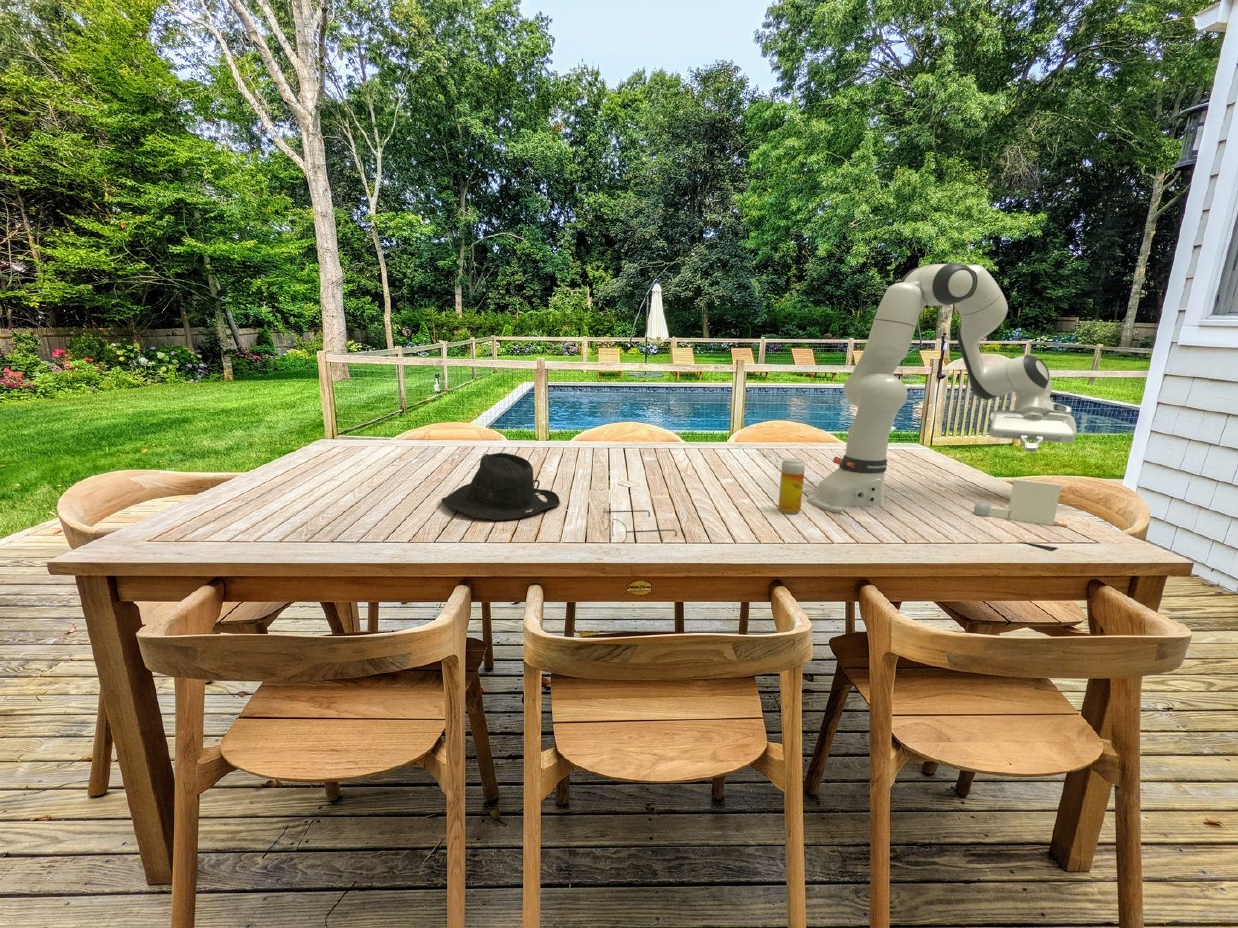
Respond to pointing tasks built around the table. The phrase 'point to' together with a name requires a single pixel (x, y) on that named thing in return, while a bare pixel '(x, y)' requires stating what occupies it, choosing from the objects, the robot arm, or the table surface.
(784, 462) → the beer glass
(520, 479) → the hat
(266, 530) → the table surface
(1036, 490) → the peg
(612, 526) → the eyeglasses
